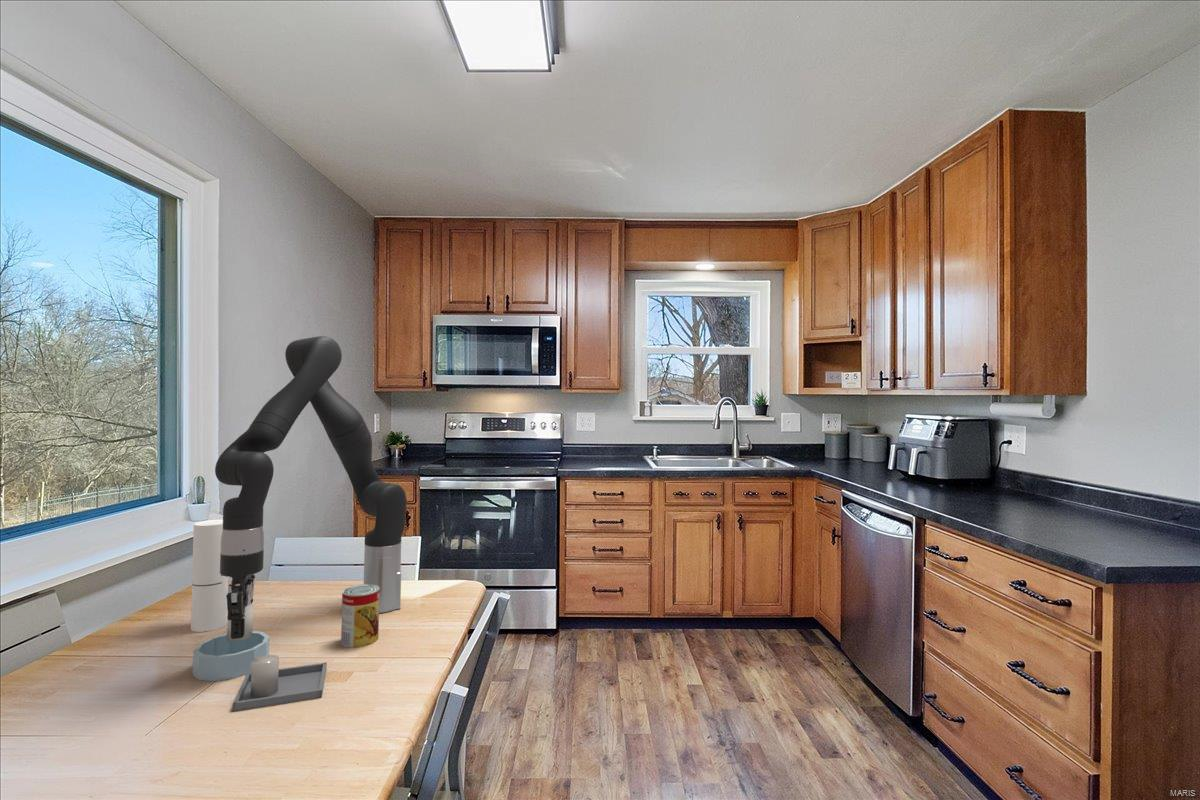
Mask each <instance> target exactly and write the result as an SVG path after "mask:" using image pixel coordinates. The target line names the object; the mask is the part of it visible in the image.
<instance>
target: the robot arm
mask: <svg viewBox="0 0 1200 800" xmlns="http://www.w3.org/2000/svg"><path fill="white" fill-rule="evenodd" d="M284 355H285V361H286V365H287V366H288V369H289V370H290V372H291V374H292V375H293V378H292V379H291V380H290V381H289V382H288V383H287V384H286V385H285V386H284V387H283V388H281V389H280V390H279V391H277V393H276V394H275V395H273V396H272V397H271V398H269V399H268V401H267V402H266V403H265V404H264V405H263V406H262V407H261V409H260V411H259V412H258V413H257V414H256V416H255V417H254V419H253V420H252V422H251V424H250V425H249V427H248V429H247V430H246V431H245V432H243V433H242V434H240V435H239V436H238V437H237V439H235V440H234V441H233V442H232V443H231V444H230V445H228V446H227V448H225V449H224V451H223V452H222V453H221V454H220V455H219V457H218V459H217V460H216V463H215V467H214V473H215V476H216V478H217V480H218V481H219V483H220V482H221V484H224V485H227V486H237V487H238V486H240V487H241V489H240V491H239V495H238V496H237V497H232V498H229V499H228V500H226V501H225V502H224V504H223V508H222V520H223V529H222V536H221V549H220V574H221V575H223V576H226V577H228V578H229V577H230V578H232V579H231V583H230V584H229V583H228V593H227V595H226V598H227V616H228V617H227V618H228V620H231V638H232V639H237V638H242V637H243V636H244V631H245V617H246V614H245V613H246V607H247V606H248V605H249V604H252V605H253V602H254V587H255V579H256V575H255V574H258V573H260V572H261V571H263V569H264V560H265V559H264V556H265V555H264V553H265V552H264V551H265V533H264V505H265V502H266V500H267V496H268V494H269V490H270V487H271V484H272V481H273V477H274V471H275V470H274V464H273V463H274V462H273V461H272V458H271V457H270V456H269V455H268V454H266V452H271V451H274V450H276V449H278V448H279V447H280V446H281V445H282V443H283V442H284V440H285V439H286V437H287V436H288V434H289V433H290V430H291V429H292V428H293V426H294V424H295V422H296V421H297V420H298V417H299V416H300V415H301V413H302V411H304V409H305V408H306V407H307V405H309V404H308V403H311V406H312V408H313V409H314V411H315V413H316V415H317V416H318V419H319V421H320V422H321V425H322V426H323V428H324V431H325V433H326V435H327V437H328V439H329V441H330V444H331V445H332V447H333V449H334V450H335V453H337V456H338V458H339V461H340V462H341V464H342V466H343V468H344V470H345V472H346V474H347V475H348V478H349V480H350V484H351V485H352V488H353V491H354V494H355V497H356V499H357V502H358V504H359V506H360V508H361V510H362V511H363V512H364V514H367V515H369V516H372V517H375V522H374V528H373V529H371V530H369V531H367V532H366V533H365V535H364V549H363V550H364V553H363V555H364V557H363V558H364V559H363V584H371V585H376V586H378V587H379V614H381V613H387V612H392V611H395V610H399V609H401V604H402V603H401V599H402V598H401V596H402V595H401V594H402V592H401V591H402V569H401V568H402V566H401V565H402V562H401V561H402V537H403V534H404V531H405V527H406V516H407V495H406V492H405V490H404V488H403V487H402V486H401V485H399V484H396V483H390V482H383V481H382V480H381V478H380V476H379V474H378V472H377V471H376V468H375V465H374V464H373V460H372V459H373V458H372V454H373V440H372V439H373V438H372V435H371V433H370V432H371V431H370V430H369V428H368V425H367V424H366V422H365V419H364V416H362V414H361V412H360V411H359V410H358V409H356V407H354V406H353V405H352V404H351V403H350V402H349V401H348V400H346V399H345V398H344V397H343V396H342V395H341V394H339V392H338V391H336V389H334V387H333V385H332V384H331V383H330V380H329V379H330V378H331V377H332V376H333V375H334V373H336V371H337V370H338V368H339V366H340V365H341V363H342V359H343V357H342V356H343V355H342V348H341V347H340V345H339V343H338V342H337V341H336V340H335V339H334V338H331V337H330V336H324V335H323V336H321V335H320V336H314V337H313V336H312V337H308V338H306V337H305V338H300V339H296V340H293V341H291V342H290V343H288V345H287V347H286V348H285V352H284ZM234 610H239V613H234Z"/></svg>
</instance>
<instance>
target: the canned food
mask: <svg viewBox="0 0 1200 800" xmlns="http://www.w3.org/2000/svg"><path fill="white" fill-rule="evenodd" d="M341 594H342V596H341V627H340V628H341V630H340V633H341V634H340V635H341V636H340V639H341V640H340V645H341V646H344V647H345V648H361V647H362V648H363V647H367V646H370V645H372V644H374V643H376V642H377V641H378V640H379V626H380V623H379V622H380V621H379V620H380V619H379V618H380V613H379V587H378V586H376V585H371V584H364V583H363V584H357V585H352V586H347V587H345V588H344V589H343V590H342V593H341Z"/></svg>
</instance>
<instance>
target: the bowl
mask: <svg viewBox="0 0 1200 800" xmlns="http://www.w3.org/2000/svg"><path fill="white" fill-rule="evenodd" d="M269 651H270V636H269V635H268V634H266V633H265V632H263V631H256V630H255V631H254V630H253V632H252V636H251V637H250V638H248V639H245V640H241V641H228V640H227V633H224V634H221V635H217V636H213V637H211V638H209V639H207V640H204V641H202V642H201V643H198V644H197V645H196V647H195V648H194V649H193V651H192V676H193V677H195V678H196V679H197V680H198V681H208V682H209V681H210V682H218V681H225V680H233V679H237V678H239V677H240V678H241V677H243V676H246V674H247V673H251V662H252V661H253V660H254V659H256V658H258V657H261V656H265V655H270V654H269V653H270V652H269Z"/></svg>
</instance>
